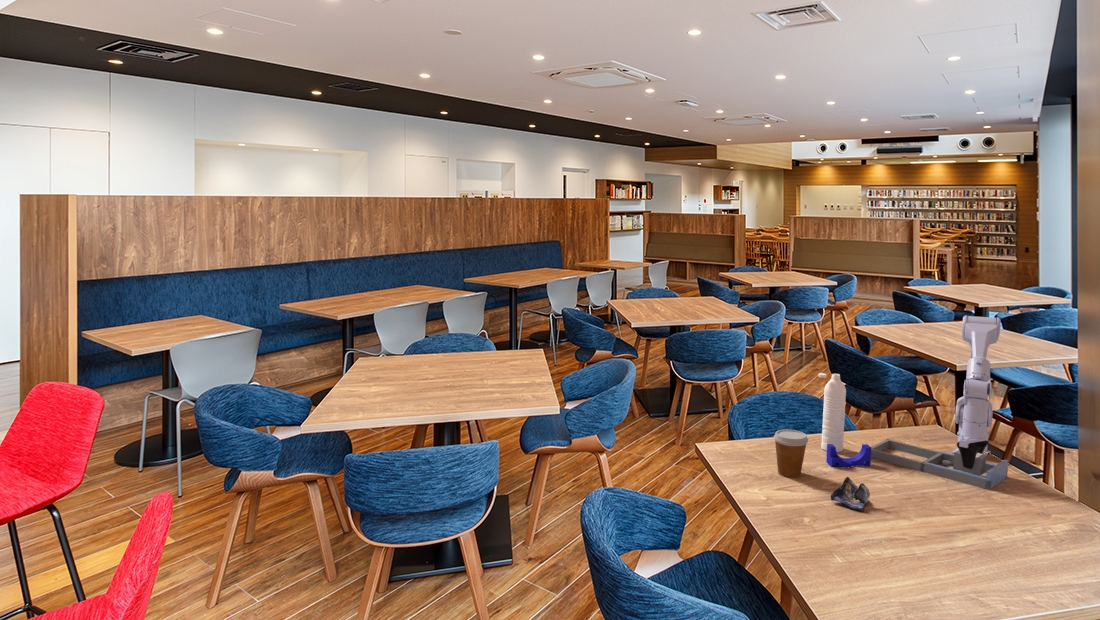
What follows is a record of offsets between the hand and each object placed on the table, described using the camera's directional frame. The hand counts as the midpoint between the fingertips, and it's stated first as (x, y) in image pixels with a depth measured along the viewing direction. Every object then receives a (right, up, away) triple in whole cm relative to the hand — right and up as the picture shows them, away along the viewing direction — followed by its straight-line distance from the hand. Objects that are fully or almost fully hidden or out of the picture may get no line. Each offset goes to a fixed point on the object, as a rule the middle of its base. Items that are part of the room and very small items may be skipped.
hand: (970, 465), depth 194 cm
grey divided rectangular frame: (-6, -2, +8) cm, 10 cm away
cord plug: (-1, -1, +2) cm, 3 cm away
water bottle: (-32, 0, +23) cm, 39 cm away
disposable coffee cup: (-51, -3, +3) cm, 52 cm away
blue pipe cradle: (-31, -2, +10) cm, 33 cm away
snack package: (-41, -6, -16) cm, 45 cm away
